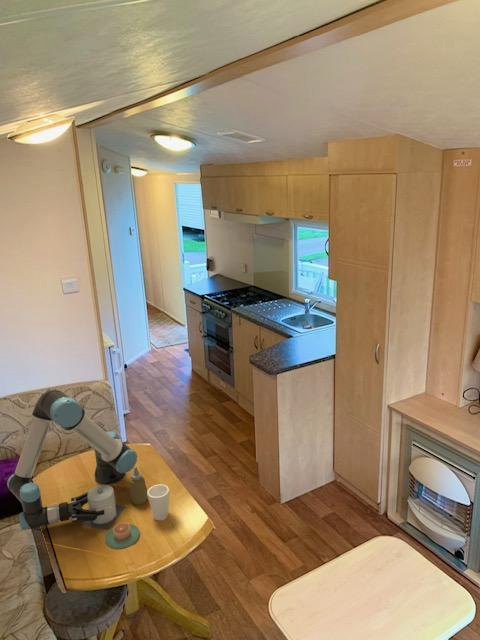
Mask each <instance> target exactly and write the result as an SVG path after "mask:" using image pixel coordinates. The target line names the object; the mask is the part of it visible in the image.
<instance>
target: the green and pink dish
mask: <svg viewBox="0 0 480 640" xmlns="http://www.w3.org/2000/svg"><path fill="white" fill-rule="evenodd" d="M140 533H141V532H140V529H139V527H138V526H136V525H135V524H131V523H129V522H125V521H123V522H122V521H121V522H119V523H117V524H115V525H114V526H113V527H111V529H109V530H108V531H107V533H106V534H105V537H104V538H105V544H106V546H108V547H109V548H112V549H115V550H118V549H119V550H121V549H125V548H129V547H131V546H132V545H134V544H136V543H137V542H138V541H139V539H140Z"/></svg>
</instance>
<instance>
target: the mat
mask: <svg viewBox="0 0 480 640" xmlns="http://www.w3.org/2000/svg"><path fill="white" fill-rule="evenodd" d="M115 505H116V516H115V517H114V519H113V520H111V521H109V522H107V523H103V524H97V523H94V522H93V521H81V522H80V524H79V525H80V526H83V527H84V526H85V527H88V528H89V527H90V528H95V529H99V530H106V531H110V530H111V529H110V528H112V526H113V525H114V523H116V521H117V520H118V518H119V517H120V516H121V514H122V513H123V512H124V511H125V509H126V508H127V505H123V504H117V503H115Z"/></svg>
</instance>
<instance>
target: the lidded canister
mask: <svg viewBox="0 0 480 640" xmlns="http://www.w3.org/2000/svg"><path fill="white" fill-rule="evenodd" d="M87 492H88V494H87V496H88V503H87V505H88V510H92V511H96V509H100V508H104V507H108V506H112V512H111V513H106V514H104V515H100V516H97V519H96V520H94V521H93V522H94V523H97V524H103V523H107V522H109V521H111V520H113V519H114V517H115V516H116V505H115V504H116V497H115V491H114V488H113V486H111V485H110V484H99V485H96V486H93V487H91V489H89V491H87Z"/></svg>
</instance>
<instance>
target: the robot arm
mask: <svg viewBox="0 0 480 640" xmlns="http://www.w3.org/2000/svg"><path fill="white" fill-rule="evenodd" d="M31 416H32V418H33V419H32V421H31V424H30V427H29V430H28V433H27V436H26V438H25V440H24V445H23V448H22V450H21V454H20V457H19V460H18V462H17V465H16V468H15V471H14V473H13V474H12V475H10V477H9V478H8V479H7V481H6V486H7V488H8V490H9V491H10V492H11V493H12V494H13V495H14V496H15V497H16V499H17V500H18V501H19V502H20V504H21V506H22V510H23V511H22V512H20V513H19V519H18V520H19V521H18V522H19V526H20V529H21V530H22V531H27V530H28V531H29V530H33V529H37V528H40V527H45V526H49V525H53V524H56V523H59V522H67V521H68V520H70V518H71V521H72V522H73V523H75V522H83V521H94V520H96V519H97V516H100V515H104V514H106V513H111V512H112V506H108V507H104V508H100V509H96V511H92V510H89V509H85V508H83V507H84V506H85V505H86V504H88V496H87V494H88V492H89V491H87V492H84V493H82V494H79V495H77V496H75V497H71V499H70V500H71V501H70V503H69V502H68V501H65V502H61V503H59V504H57V503H56V504H51V505H48V506H47V505H46V506H44V505H43V500H42V495H41V489H40V487H39V484H38V483H37V482H31V481H32V477H33V476H34V473H35V470H36V467H37V463H38V461H39V458H40V455H41V452H42V450H43V445H44V443H45V440H46V438H47V434H48V433H49V428H50V426H51V423H52V422H54V424H56V425H57V426H60V427H61V429H63V430H64V431H67V432H68V431H72V432H73V434H75V435H76V436H78V437H79V438H80V439H82V441H84V442H85V443H87V444H88V445H89V446H91V448H93V449H94V455H95V461H96V465H95V471H94V479H95V482H96V483H98V484H99V485H112V484H115V483H118V482H119V481H122V480H123V479H124V477H126V473H129V472H130V471H132V470H134V468H135V467H136V464H137V462H138V461H137V460H138V453H137V452H136V451H135V449H132V448H131V447H130V446H128V445H127V444H126V443H125V442H123V440H122V439H120V438H119V435H118V433H117V432H115V431H111V430H110V431H109V430H108V431H105V430H104V429H103V428H102V427H100V426H99V425H98V424H97V423H96V422H95V421H94V420H92V419H91V418H90V417H89V416H88V415H87V414H86V410H85V408H84V407H83V406H81V404H80V403H79V401H77V400H76V399H74V398H73V397H71V396H69V395H67V393H66V394H65V393H64V392H63V391H61V390H58V389H49V390H47V391H45V392H44V393H42V394H41V395H40V397H39V398H38V399H37V401H36V403H35V405H34V408H33V411H32V414H31Z"/></svg>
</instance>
